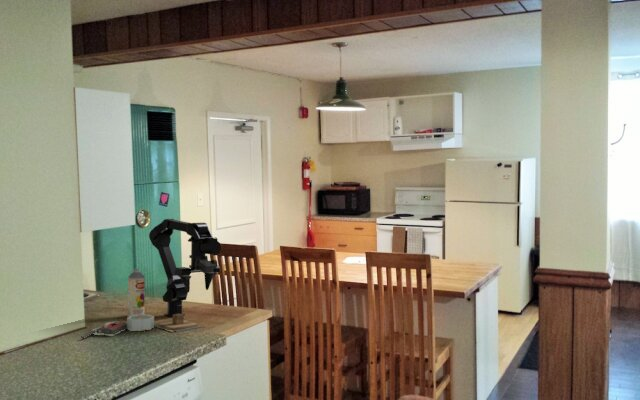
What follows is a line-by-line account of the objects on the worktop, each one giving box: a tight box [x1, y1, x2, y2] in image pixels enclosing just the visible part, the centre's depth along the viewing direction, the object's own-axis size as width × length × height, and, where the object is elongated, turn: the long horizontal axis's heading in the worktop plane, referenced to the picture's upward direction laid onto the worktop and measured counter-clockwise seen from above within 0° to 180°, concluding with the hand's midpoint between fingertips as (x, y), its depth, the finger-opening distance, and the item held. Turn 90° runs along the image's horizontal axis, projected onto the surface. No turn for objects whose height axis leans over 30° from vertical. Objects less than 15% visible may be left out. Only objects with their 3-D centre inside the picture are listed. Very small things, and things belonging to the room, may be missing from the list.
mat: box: [154, 324, 203, 332], centre depth 221 cm, size 13×13×1 cm
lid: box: [157, 313, 199, 331], centre depth 221 cm, size 11×11×4 cm
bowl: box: [126, 314, 155, 330], centre depth 217 cm, size 10×10×4 cm
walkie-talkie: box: [80, 320, 127, 339], centre depth 208 cm, size 9×4×20 cm
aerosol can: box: [126, 268, 146, 318], centre depth 240 cm, size 7×7×20 cm
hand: (197, 290), depth 235 cm, fingers open, 9 cm apart
